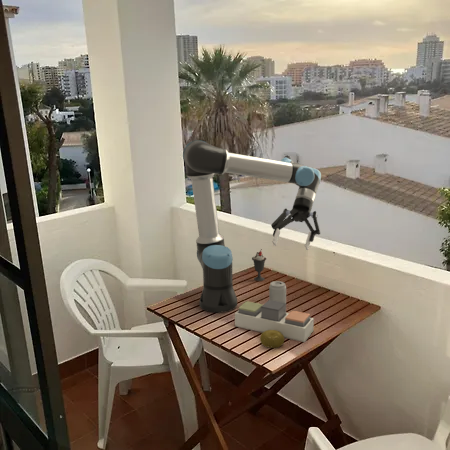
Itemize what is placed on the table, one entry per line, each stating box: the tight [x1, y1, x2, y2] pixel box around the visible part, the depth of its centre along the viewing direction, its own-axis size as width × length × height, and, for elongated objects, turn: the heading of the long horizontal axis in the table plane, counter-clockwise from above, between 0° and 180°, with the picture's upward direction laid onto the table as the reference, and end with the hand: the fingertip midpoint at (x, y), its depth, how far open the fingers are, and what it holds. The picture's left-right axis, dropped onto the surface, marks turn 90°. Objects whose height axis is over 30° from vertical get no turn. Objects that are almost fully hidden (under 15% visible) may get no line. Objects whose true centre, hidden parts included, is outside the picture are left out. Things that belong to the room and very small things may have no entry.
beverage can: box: [268, 280, 287, 304], centre depth 177 cm, size 6×6×12 cm
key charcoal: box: [261, 299, 287, 322], centre depth 164 cm, size 6×6×6 cm
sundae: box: [251, 248, 267, 282], centre depth 213 cm, size 7×7×15 cm
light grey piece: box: [234, 309, 315, 343], centre depth 165 cm, size 26×9×5 cm, turn 61°
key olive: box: [238, 301, 264, 317], centre depth 169 cm, size 6×6×6 cm
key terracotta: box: [285, 310, 311, 327], centre depth 161 cm, size 6×6×6 cm
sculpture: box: [259, 330, 285, 349], centre depth 155 cm, size 8×4×8 cm
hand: (289, 246), depth 183 cm, fingers open, 13 cm apart
